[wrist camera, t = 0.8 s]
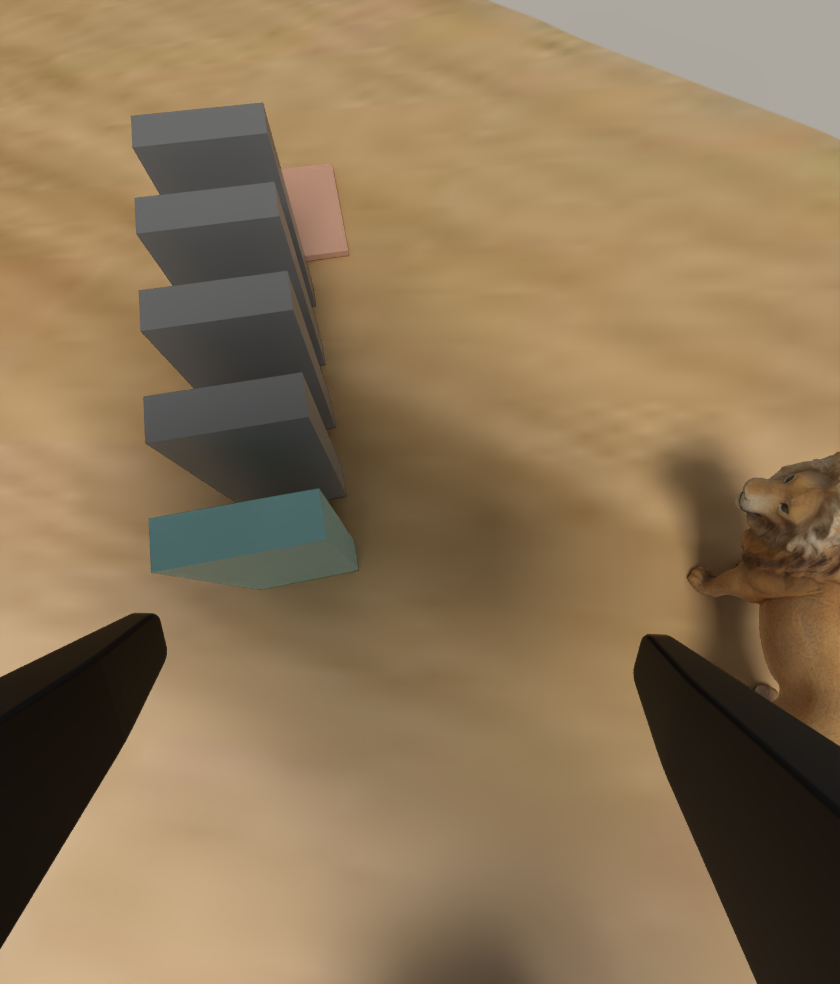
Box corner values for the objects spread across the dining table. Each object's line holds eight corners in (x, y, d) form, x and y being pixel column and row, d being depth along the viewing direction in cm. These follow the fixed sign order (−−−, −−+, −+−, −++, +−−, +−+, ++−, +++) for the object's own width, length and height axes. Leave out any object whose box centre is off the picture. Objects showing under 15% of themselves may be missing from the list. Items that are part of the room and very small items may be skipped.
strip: (348, 255, 28) (348, 250, 27) (184, 277, 27) (181, 272, 26) (332, 169, 29) (331, 163, 29) (177, 186, 29) (174, 181, 28)
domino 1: (316, 306, 27) (267, 133, 17) (231, 318, 26) (132, 147, 17) (312, 283, 27) (262, 102, 17) (229, 295, 27) (131, 115, 17)
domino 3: (335, 427, 25) (293, 309, 15) (244, 442, 24) (140, 331, 15) (331, 401, 25) (287, 270, 15) (241, 416, 25) (138, 290, 15)
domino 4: (346, 495, 24) (308, 416, 14) (251, 512, 23) (145, 443, 14) (342, 468, 24) (302, 372, 14) (248, 484, 24) (143, 396, 14)
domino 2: (325, 364, 26) (279, 215, 16) (237, 377, 25) (136, 233, 16) (321, 340, 26) (274, 181, 16) (235, 353, 26) (134, 197, 16)
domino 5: (358, 570, 23) (326, 539, 13) (259, 589, 22) (151, 572, 13) (353, 539, 23) (319, 488, 13) (256, 558, 23) (148, 518, 13)
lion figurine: (650, 501, 24) (787, 440, 16) (743, 499, 25) (930, 437, 16) (704, 809, 21) (926, 955, 12) (815, 803, 21) (1110, 940, 12)
